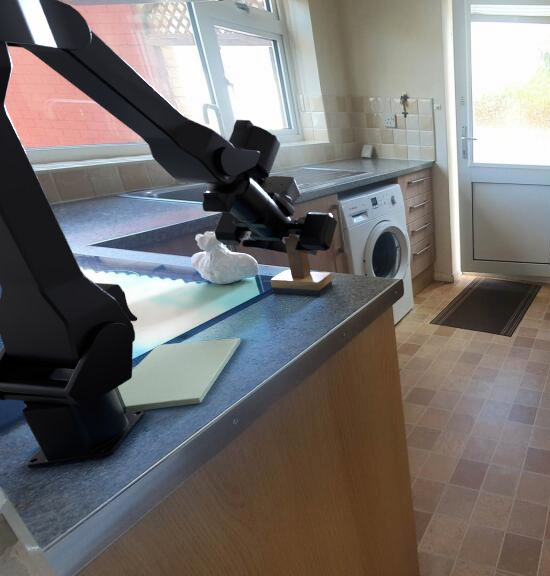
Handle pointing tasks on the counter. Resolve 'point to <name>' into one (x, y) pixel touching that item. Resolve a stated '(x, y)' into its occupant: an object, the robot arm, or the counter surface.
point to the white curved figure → (221, 261)
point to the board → (176, 374)
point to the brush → (300, 274)
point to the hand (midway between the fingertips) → (301, 251)
